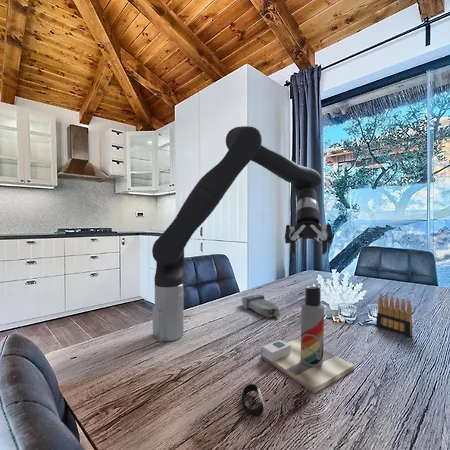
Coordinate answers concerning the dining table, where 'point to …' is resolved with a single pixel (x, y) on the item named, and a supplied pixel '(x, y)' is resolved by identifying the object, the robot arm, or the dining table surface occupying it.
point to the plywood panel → (311, 368)
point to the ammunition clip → (394, 316)
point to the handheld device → (260, 305)
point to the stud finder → (276, 350)
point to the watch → (254, 388)
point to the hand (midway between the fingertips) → (308, 252)
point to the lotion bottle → (312, 328)
